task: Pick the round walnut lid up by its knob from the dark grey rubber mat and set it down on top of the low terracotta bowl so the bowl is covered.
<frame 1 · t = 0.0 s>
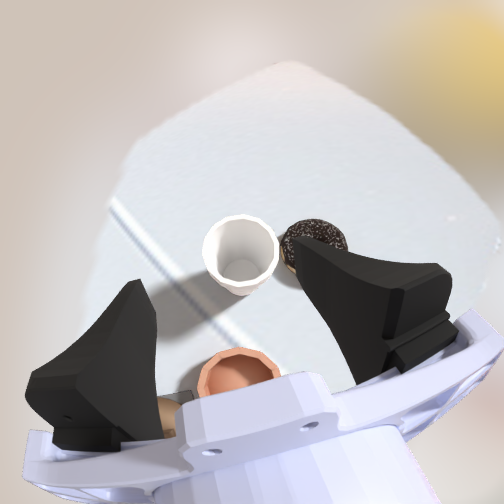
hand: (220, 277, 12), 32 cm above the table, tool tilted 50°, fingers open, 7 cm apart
lid: (163, 435, 35), resting on mat
foam cup: (241, 277, 46), on the table
donut: (311, 252, 48), on the table
bowl: (240, 385, 39), on the table
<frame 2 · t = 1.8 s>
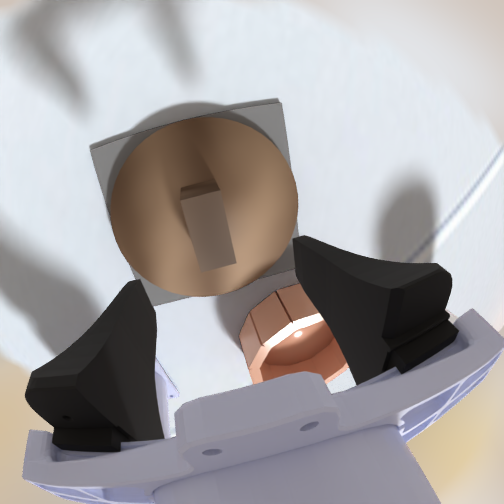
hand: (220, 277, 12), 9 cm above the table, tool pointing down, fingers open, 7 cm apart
lid: (204, 212, 20), resting on mat
mat: (204, 211, 20), on the table
bowl: (295, 329, 28), on the table
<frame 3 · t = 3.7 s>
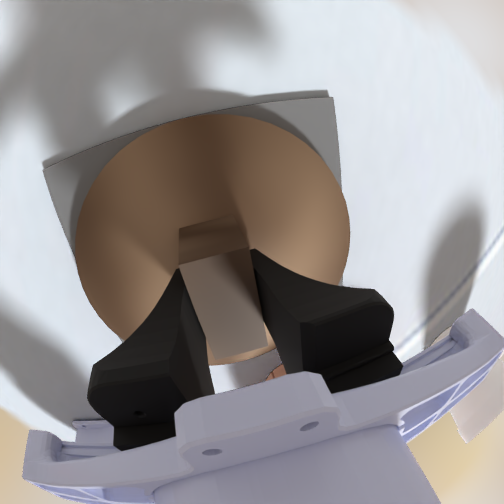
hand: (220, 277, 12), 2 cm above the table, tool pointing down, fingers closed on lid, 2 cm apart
lid: (216, 261, 14), resting on mat, touching gripper
foam cup: (440, 344, 27), on the table
mat: (215, 258, 14), on the table
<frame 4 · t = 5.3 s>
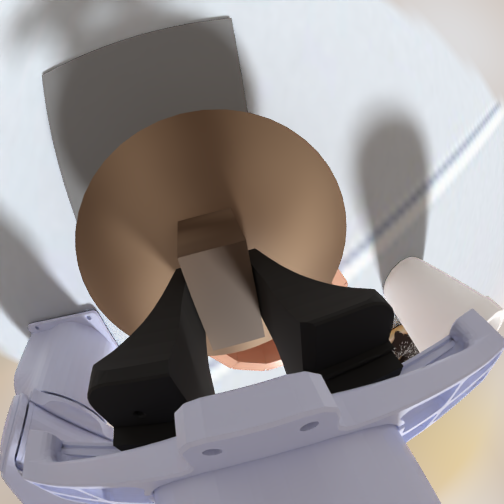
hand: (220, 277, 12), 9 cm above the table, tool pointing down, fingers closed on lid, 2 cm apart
lid: (214, 253, 14), point 7 cm above the table, touching gripper
foam cup: (402, 279, 29), on the table
donut: (388, 347, 36), on the table
mat: (145, 128, 16), on the table
bowl: (261, 287, 24), on the table
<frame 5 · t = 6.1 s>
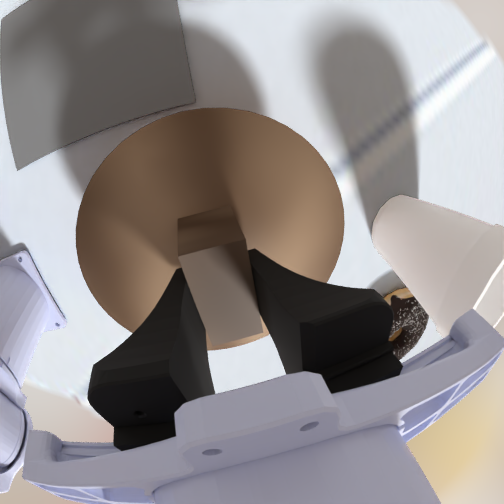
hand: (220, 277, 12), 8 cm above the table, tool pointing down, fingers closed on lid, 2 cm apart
lid: (213, 249, 14), point 6 cm above the table, touching gripper
foam cup: (395, 225, 24), on the table
donut: (384, 320, 31), on the table
mat: (79, 44, 11), on the table
when the fingers open (7 cm above the table, at t = 6.8 s): lid stays where it is, resting on bowl.
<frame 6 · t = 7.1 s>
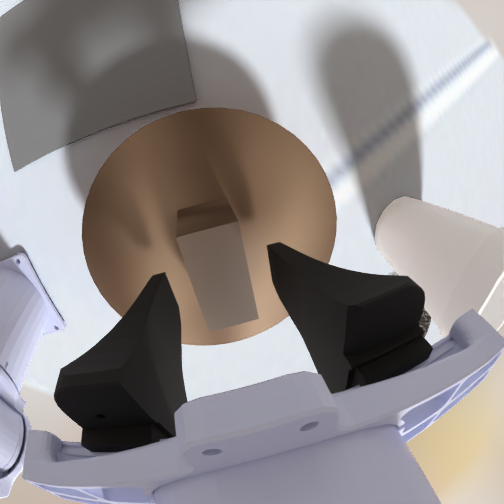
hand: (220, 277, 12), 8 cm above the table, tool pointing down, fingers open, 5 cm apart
lid: (211, 242, 15), point 4 cm above the table, touching bowl
foam cup: (398, 226, 24), on the table
mat: (77, 42, 11), on the table
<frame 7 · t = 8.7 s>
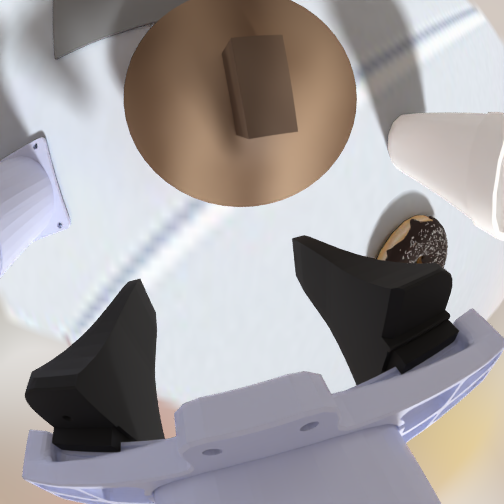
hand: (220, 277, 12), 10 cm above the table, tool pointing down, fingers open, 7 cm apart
lid: (247, 91, 14), point 4 cm above the table, touching bowl
foam cup: (408, 143, 23), on the table
donut: (403, 255, 30), on the table
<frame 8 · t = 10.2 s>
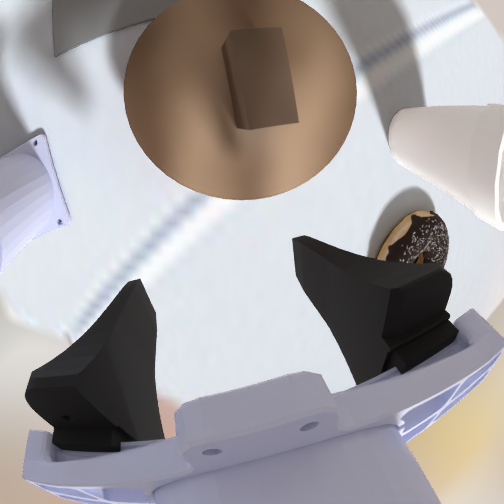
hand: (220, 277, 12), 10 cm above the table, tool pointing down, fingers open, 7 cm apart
lid: (247, 85, 14), point 4 cm above the table, touching bowl
foam cup: (408, 137, 23), on the table
donut: (405, 251, 30), on the table
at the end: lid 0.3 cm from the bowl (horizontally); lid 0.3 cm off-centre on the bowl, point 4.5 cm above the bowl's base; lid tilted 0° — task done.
